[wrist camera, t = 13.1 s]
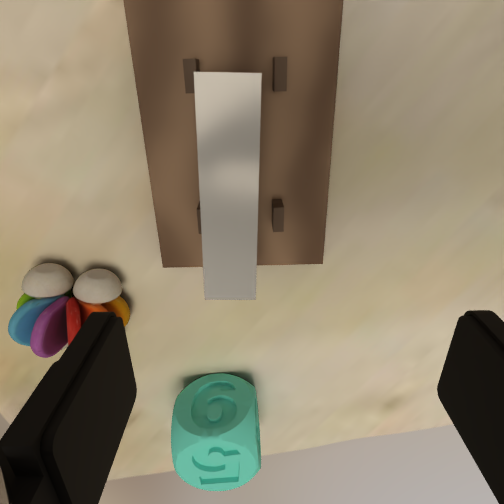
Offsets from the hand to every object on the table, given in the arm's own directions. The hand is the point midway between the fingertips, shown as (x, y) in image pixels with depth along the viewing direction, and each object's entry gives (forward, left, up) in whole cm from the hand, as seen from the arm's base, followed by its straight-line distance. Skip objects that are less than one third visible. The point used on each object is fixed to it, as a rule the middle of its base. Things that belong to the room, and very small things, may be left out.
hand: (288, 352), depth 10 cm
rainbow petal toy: (+17, +12, -22) cm, 30 cm away
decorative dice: (+5, +26, -22) cm, 34 cm away
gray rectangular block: (+2, 0, -20) cm, 20 cm away
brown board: (+2, -2, -21) cm, 22 cm away
